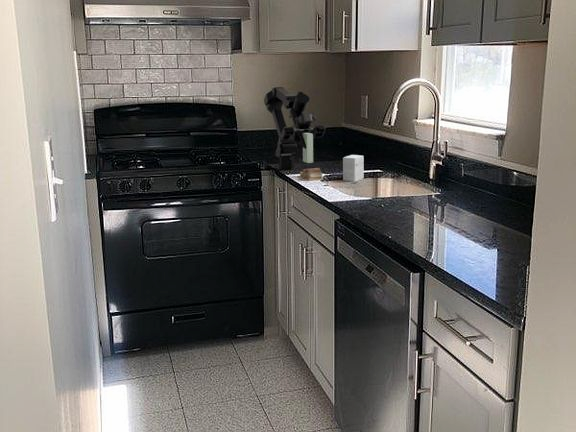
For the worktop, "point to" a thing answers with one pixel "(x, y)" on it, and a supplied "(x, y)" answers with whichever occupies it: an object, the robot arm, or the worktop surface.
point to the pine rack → (311, 174)
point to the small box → (353, 168)
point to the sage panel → (308, 148)
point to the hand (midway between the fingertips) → (309, 147)
